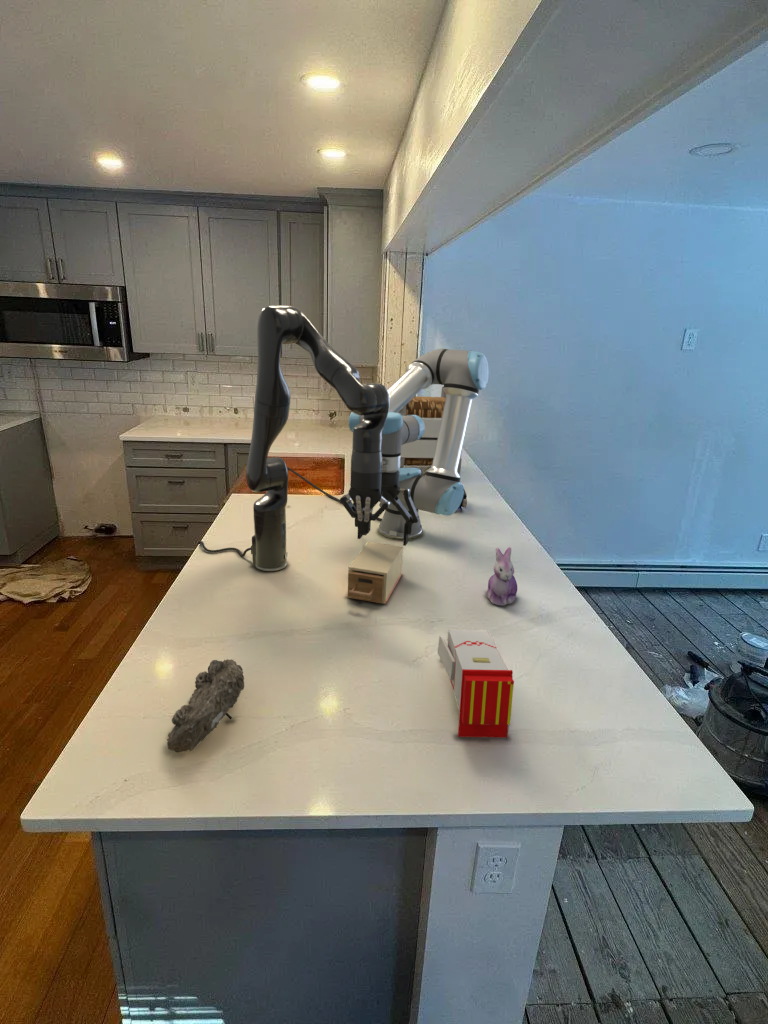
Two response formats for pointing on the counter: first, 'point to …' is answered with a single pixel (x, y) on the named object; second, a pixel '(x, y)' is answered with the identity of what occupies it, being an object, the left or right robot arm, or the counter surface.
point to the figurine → (502, 580)
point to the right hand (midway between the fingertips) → (382, 540)
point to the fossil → (206, 705)
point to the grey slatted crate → (425, 446)
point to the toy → (478, 682)
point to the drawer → (365, 586)
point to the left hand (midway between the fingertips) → (364, 534)
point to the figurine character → (463, 502)
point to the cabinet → (380, 564)
